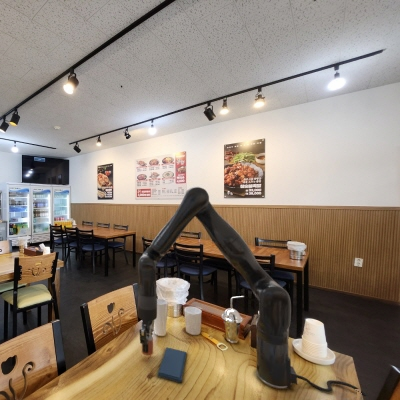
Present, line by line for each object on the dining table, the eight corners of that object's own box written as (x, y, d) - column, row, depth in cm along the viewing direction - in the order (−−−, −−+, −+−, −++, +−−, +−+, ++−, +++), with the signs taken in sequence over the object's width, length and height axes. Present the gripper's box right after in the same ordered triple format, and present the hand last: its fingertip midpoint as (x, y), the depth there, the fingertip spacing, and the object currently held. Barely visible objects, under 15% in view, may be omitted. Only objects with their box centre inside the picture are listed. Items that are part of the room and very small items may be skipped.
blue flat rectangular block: (186, 354, 92) (186, 351, 92) (181, 383, 77) (181, 379, 77) (166, 349, 95) (166, 346, 95) (157, 376, 80) (157, 372, 80)
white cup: (203, 329, 110) (203, 309, 110) (199, 337, 103) (199, 315, 104) (187, 325, 114) (186, 305, 114) (182, 332, 108) (182, 311, 108)
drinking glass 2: (166, 330, 110) (166, 298, 110) (168, 338, 103) (168, 304, 103) (152, 329, 110) (152, 298, 111) (153, 337, 104) (153, 304, 104)
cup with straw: (224, 332, 107) (224, 290, 108) (245, 339, 102) (245, 294, 102) (219, 341, 101) (218, 295, 101) (242, 349, 95) (241, 301, 96)
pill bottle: (154, 349, 91) (154, 334, 91) (151, 356, 87) (151, 340, 87) (143, 347, 93) (143, 332, 93) (139, 353, 88) (139, 338, 89)
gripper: (152, 314, 82) (152, 362, 82) (160, 299, 95) (160, 340, 95) (132, 310, 85) (132, 357, 85) (143, 296, 98) (143, 336, 98)
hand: (147, 348), depth 90 cm, fingers closed on pill bottle, 4 cm apart
